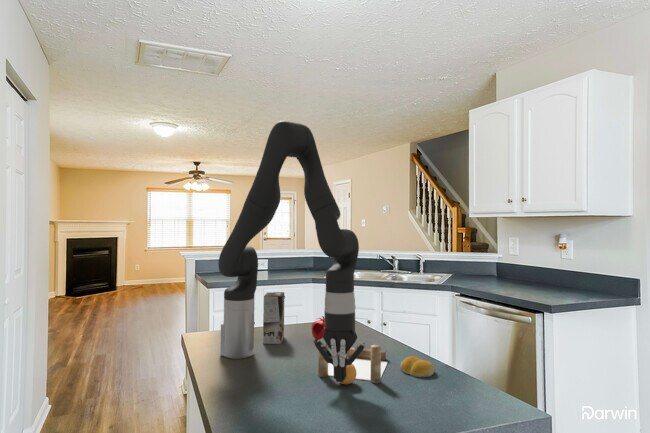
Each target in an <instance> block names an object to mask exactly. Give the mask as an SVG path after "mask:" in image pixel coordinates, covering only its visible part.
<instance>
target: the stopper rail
mask: <svg viewBox="0 0 650 433" xmlns="http://www.w3.org/2000/svg"><path fill="white" fill-rule="evenodd" d="M355 351H356V350H355V348H354V347H353V346H352V347H351V348H350V350H349V351H348V355H347V358H350V357H351V356H352V355H353V353H354V352H355ZM356 359H366V360H371V348H364V349H363V350H362V352H361V353H360V354H359V355H358V357H357V358H356ZM381 361H385V362H386V361H387V351H386V350H385V349H384V350H383V349H381Z"/></svg>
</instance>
